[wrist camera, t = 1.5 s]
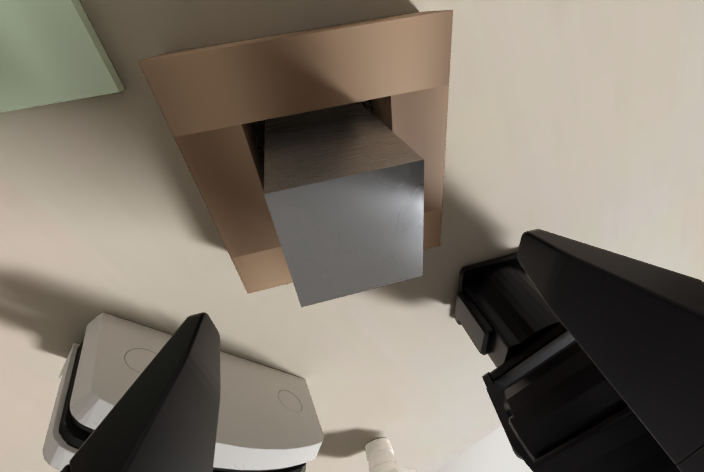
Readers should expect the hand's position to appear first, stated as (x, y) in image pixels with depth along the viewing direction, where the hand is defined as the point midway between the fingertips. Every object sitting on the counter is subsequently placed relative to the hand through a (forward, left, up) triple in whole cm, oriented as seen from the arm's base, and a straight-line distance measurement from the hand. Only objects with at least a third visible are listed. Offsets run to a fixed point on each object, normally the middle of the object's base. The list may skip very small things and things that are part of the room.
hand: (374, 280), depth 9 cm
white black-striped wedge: (+11, +14, -10) cm, 20 cm away
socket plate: (0, 0, -10) cm, 10 cm away
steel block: (0, 0, -10) cm, 10 cm away
